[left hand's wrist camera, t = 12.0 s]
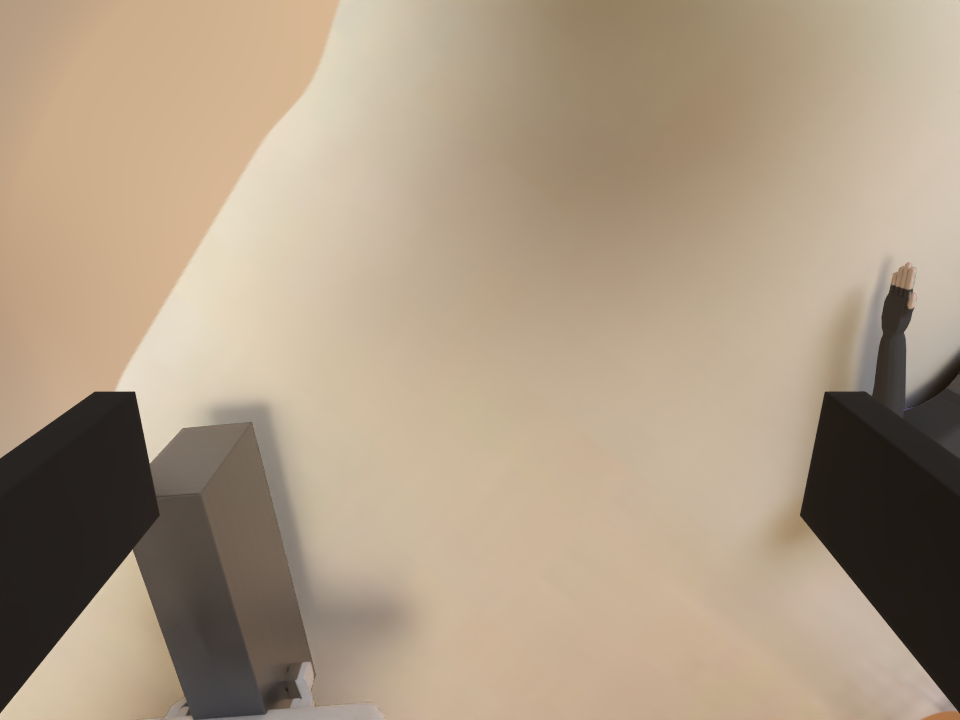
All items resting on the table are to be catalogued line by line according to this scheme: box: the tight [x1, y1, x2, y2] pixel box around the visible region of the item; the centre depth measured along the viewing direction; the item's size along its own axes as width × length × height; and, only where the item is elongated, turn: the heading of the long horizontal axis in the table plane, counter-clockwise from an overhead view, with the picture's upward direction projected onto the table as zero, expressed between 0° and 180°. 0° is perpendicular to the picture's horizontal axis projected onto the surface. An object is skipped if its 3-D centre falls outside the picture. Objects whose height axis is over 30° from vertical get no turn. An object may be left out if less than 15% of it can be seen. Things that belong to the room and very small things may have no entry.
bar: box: [133, 422, 316, 720], centre depth 44 cm, size 23×5×9 cm, turn 5°
